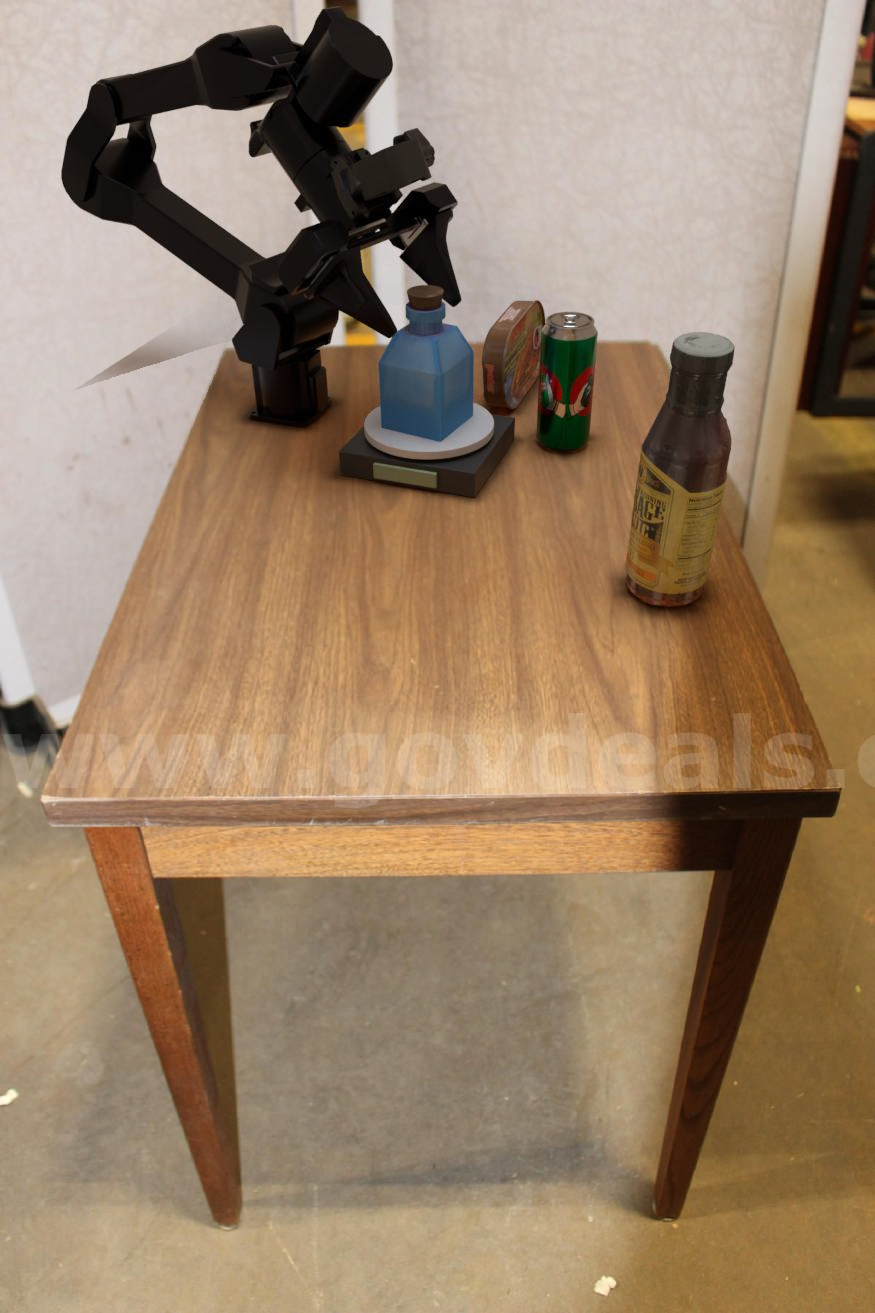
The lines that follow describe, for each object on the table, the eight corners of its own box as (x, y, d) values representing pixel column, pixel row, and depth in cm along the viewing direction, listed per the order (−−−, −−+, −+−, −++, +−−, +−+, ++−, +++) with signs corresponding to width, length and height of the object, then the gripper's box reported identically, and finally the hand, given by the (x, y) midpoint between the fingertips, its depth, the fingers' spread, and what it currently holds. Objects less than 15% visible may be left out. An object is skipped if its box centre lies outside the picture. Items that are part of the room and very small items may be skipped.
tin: (506, 422, 106) (508, 340, 101) (476, 418, 107) (476, 336, 102) (547, 366, 117) (551, 289, 112) (519, 363, 118) (522, 286, 113)
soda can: (588, 431, 104) (598, 310, 97) (589, 455, 100) (599, 330, 93) (536, 430, 105) (542, 308, 97) (535, 453, 101) (541, 329, 93)
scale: (338, 476, 97) (335, 440, 95) (390, 421, 107) (388, 387, 104) (473, 499, 94) (473, 462, 92) (514, 440, 103) (515, 405, 101)
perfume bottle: (440, 441, 95) (439, 308, 88) (381, 427, 97) (375, 296, 90) (473, 415, 99) (474, 285, 92) (415, 402, 102) (412, 275, 94)
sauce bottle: (615, 569, 85) (642, 323, 72) (692, 565, 85) (732, 319, 73) (634, 617, 79) (666, 360, 67) (716, 612, 80) (763, 356, 68)
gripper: (289, 118, 79) (411, 296, 80) (439, 80, 91) (543, 235, 92) (227, 213, 87) (339, 372, 89) (372, 166, 99) (468, 308, 101)
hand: (426, 318), depth 92 cm, fingers open, 9 cm apart
